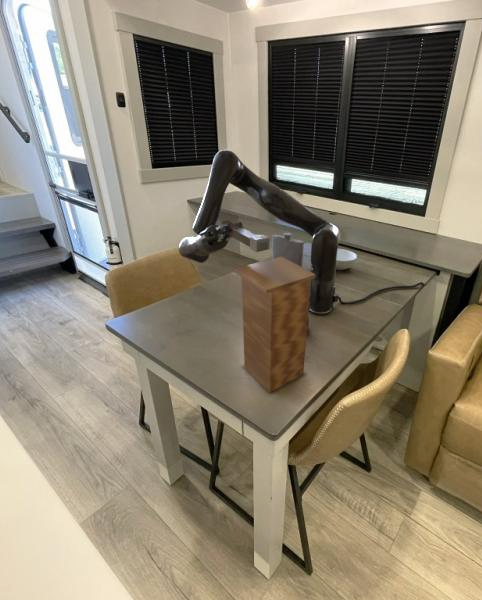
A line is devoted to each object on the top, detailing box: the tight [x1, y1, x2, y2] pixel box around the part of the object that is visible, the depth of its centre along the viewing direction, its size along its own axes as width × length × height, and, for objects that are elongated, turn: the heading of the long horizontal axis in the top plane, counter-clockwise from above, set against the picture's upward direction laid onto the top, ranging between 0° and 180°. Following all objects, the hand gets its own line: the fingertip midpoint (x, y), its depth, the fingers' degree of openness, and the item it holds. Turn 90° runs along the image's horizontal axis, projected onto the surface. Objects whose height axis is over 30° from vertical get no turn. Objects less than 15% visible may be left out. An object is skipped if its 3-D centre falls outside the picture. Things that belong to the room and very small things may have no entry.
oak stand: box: [233, 257, 316, 393], centre depth 90 cm, size 15×14×32 cm
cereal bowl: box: [336, 248, 358, 271], centre depth 167 cm, size 17×17×7 cm
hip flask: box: [271, 232, 305, 268], centre depth 152 cm, size 16×4×20 cm, turn 62°
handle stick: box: [218, 220, 271, 253], centre depth 89 cm, size 4×20×3 cm, turn 41°
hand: (235, 226), depth 91 cm, fingers closed on handle stick, 3 cm apart
